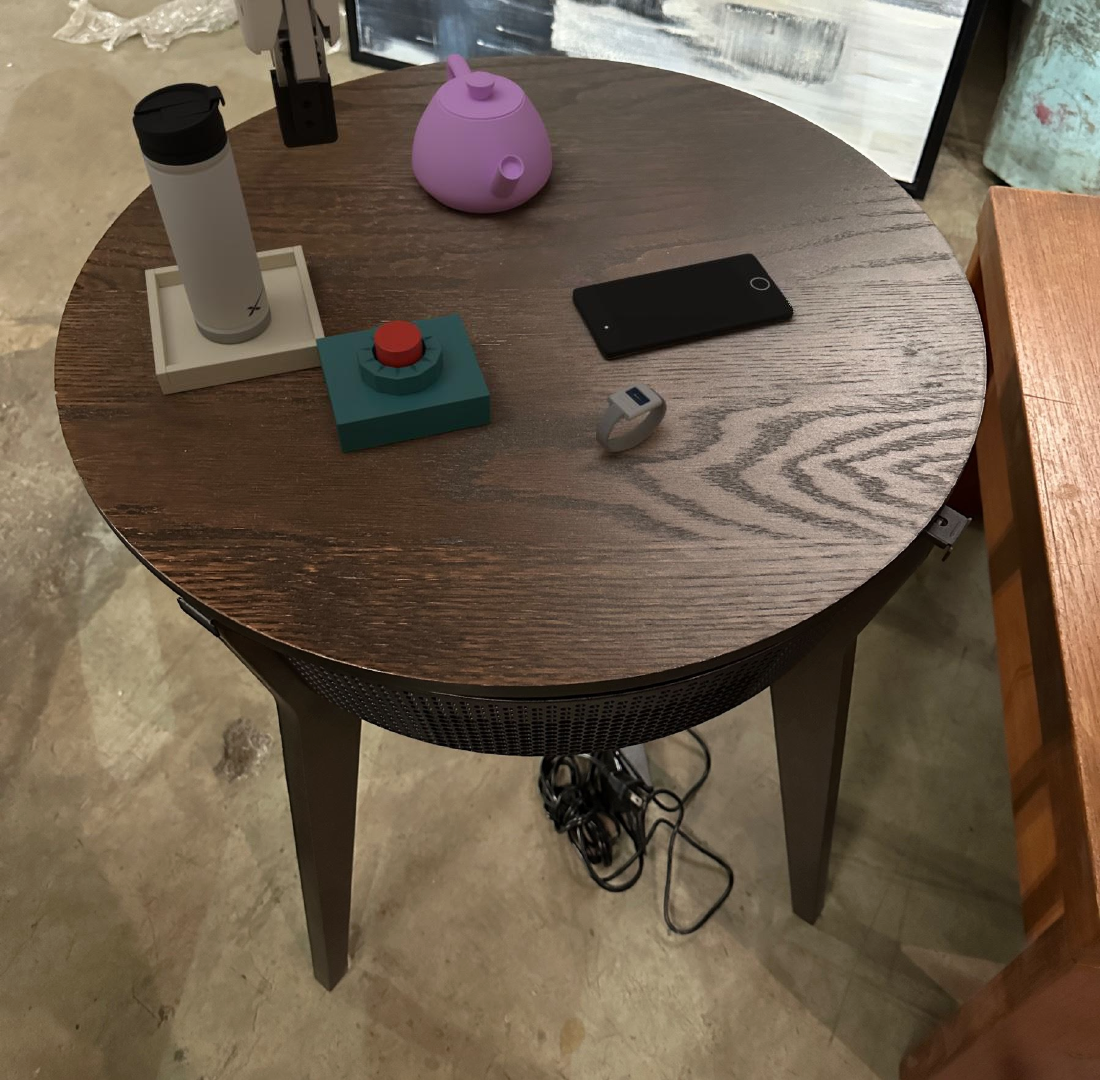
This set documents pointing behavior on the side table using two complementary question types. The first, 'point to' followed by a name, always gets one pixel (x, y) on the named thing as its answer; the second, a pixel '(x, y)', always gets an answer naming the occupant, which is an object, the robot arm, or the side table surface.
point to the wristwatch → (631, 416)
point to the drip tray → (209, 363)
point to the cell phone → (680, 305)
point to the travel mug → (203, 209)
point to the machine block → (403, 386)
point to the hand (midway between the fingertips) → (309, 137)
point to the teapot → (480, 143)
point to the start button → (398, 344)
